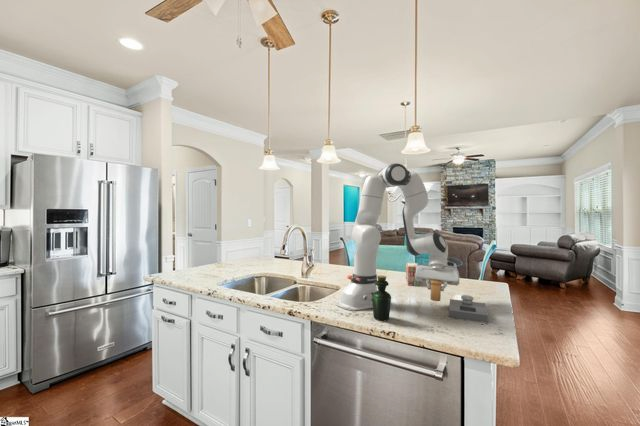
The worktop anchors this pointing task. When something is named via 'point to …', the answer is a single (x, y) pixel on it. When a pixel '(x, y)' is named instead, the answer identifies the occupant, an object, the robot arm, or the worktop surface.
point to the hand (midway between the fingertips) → (435, 289)
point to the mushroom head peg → (435, 290)
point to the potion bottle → (381, 300)
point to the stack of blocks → (411, 274)
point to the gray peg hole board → (468, 309)
